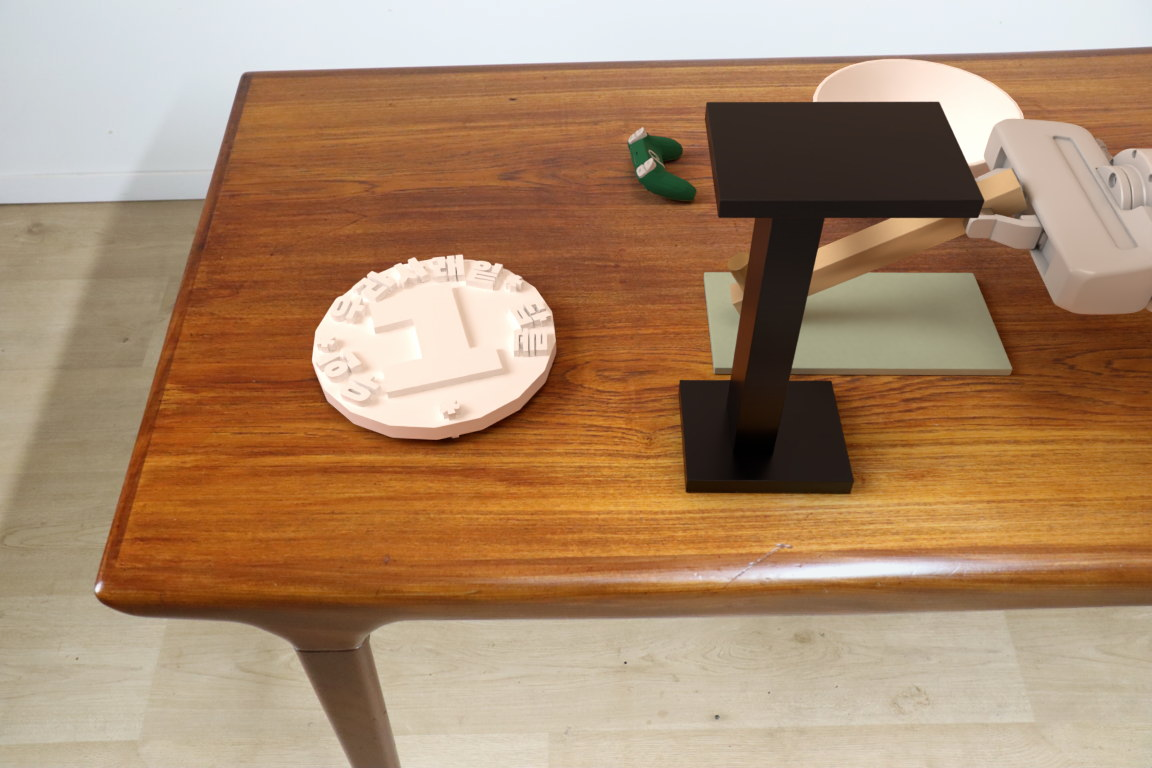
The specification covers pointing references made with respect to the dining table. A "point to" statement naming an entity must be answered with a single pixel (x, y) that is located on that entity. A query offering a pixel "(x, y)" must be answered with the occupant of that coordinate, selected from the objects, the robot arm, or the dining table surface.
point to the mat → (878, 327)
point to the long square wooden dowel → (889, 240)
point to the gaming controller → (658, 165)
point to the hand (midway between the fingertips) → (960, 208)
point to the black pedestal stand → (803, 272)
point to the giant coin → (434, 348)
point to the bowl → (928, 97)
